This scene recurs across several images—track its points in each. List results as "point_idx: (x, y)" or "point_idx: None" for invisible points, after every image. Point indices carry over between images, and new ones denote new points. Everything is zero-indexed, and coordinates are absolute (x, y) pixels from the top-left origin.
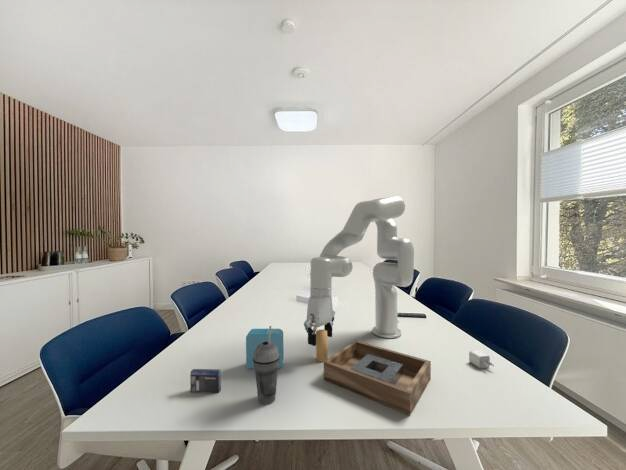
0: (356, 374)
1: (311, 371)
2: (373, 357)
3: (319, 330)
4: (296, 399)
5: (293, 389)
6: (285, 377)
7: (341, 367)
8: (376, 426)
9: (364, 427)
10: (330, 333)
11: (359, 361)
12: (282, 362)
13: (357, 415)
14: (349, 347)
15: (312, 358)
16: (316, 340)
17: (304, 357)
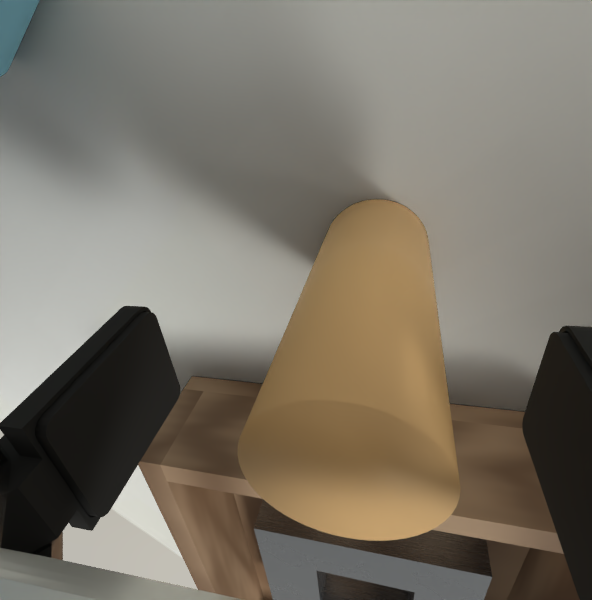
0: (193, 576)
1: (192, 282)
2: (454, 595)
3: (365, 435)
4: (17, 350)
5: (27, 303)
6: (21, 194)
7: (178, 534)
8: (161, 540)
9: (135, 523)
10: (541, 471)
11: (355, 550)
12: (9, 48)
13: (151, 507)
14: (459, 532)
15: (338, 166)
16: (284, 333)
17: (301, 80)
